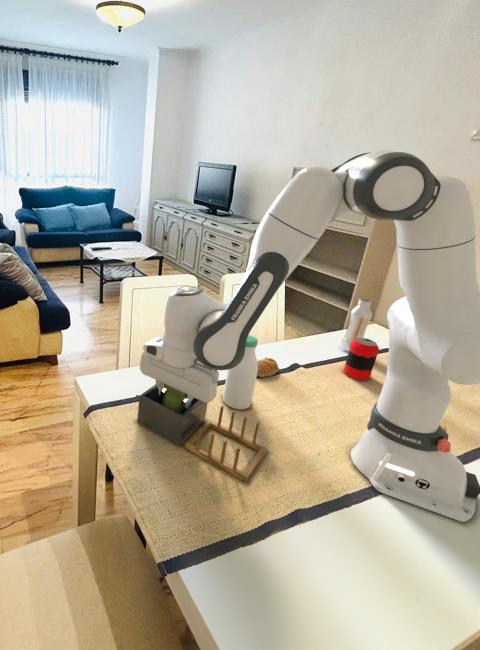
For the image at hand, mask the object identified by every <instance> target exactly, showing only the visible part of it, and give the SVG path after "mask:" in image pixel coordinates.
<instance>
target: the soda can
mask: <svg viewBox="0 0 480 650" xmlns="http://www.w3.org/2000/svg"><path fill="white" fill-rule="evenodd" d="M379 351H380V348H379V345H378V343H377V342H376V341H374V340H372V339H370V338H366V337H364V338H357V339H356V340H354V341H352V343H351V346H350V350H349V351H348V353H347V357H346V360H345V364H344V366H343V369H342V370H343V373H344V374H345V375H346V376H347V377H348V378H351V379H354V380H356V381H368V380H370V379H371V375H372V372H373V369H374V366H375V364H376V361H377V360H376V359H377V357H378V355H379Z"/></svg>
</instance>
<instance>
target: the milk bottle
mask: <svg viewBox="0 0 480 650" xmlns="http://www.w3.org/2000/svg"><path fill="white" fill-rule="evenodd" d="M257 346H258V338H257V337H255V336H253V335H250V334H249V335H248V337H247V341H246V347H245V354H244V357H243V359H242V361H241V362H240V363H239V364H238V365H237V366H236V367H234V368H232V369H228V370H226V376H225V383H224V388H223V393H222V400H223V403H224V404H225V405H226V406H228V407H230V408H233V409H235V410H236V409H237V410H246V409H248V408H249V407H250V406H251V405H252V401H253V397H254V391H255V387H256V382H257V377H258V376H257V371H258V363H257V362H258V359H257V356H256V355H257V354H256V349H257Z"/></svg>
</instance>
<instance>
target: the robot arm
mask: <svg viewBox="0 0 480 650" xmlns="http://www.w3.org/2000/svg"><path fill="white" fill-rule="evenodd" d="M348 212H353V213H356V214H358V215H361V216H366V217H369V218H370V219H374V220H381V221H392V222H393V223H394V226H395V229H396V231H395V232H396V233H395V234H396V235H395V236H396V239H395V240H396V254H397V269H398V283H399V286H400V288H401V291H403V293H404V296H403V297H400V298H398V299H397V300H395V301H394V302H393V303H392V304H391V305H390V307H389V309H388V310H387V313H386V323H387V326H388V336H389V339H388V355H387V368H386V374H385V378H384V382H383V385H382V388H381V391H380V393H379V397H378V400H377V401H376V402H375V403H374V404H373V406H372V407H371V409H370V412H369V416H368V419H367V422H366V423H367V424H366V428H365V431H364V432H363V434H362V436H361V438H360V439H359V440H358V442H357V443H356V444H355V445H354V446H353V447H352V449H351V451H350V458H351V461H352V463H353V465H354V466H355V467H356V469H358V470H359V472H361V474H363V476H365V477H366V478H367V479H368V480H369V482H370V483H371V485H372V486H373V488H374V489H375V490H376V491H378V492H379V493H381V494H383V495H386V496H389V497H392V498H395V499H398V500H399V501H403V502H405V503H409V504H411V505H414V506H417V507H418V508H422V509H425V510H428V511H431V512H433V513H436V514H438V515H441V516H444V517H447V518H449V519H452V520H456V521H458V522H461V523H465V522H468V521H470V520H471V519H472V518H473V516H474V514H475V511H476V500H477V498H478V497H479V496H480V483H479V480H478V477H477V475H476V474H475V473H471V472H468V471H466V468H465V466H464V464H463V462H462V461H461V460H460V459H459V458H458V457H457V456H456V454H454V453H453V452H452V451H451V449H452V448H451V446H452V444H451V442H450V441H449V433H448V432H447V427H446V425H444V426H441V423H442V421H443V419H444V416H445V413H446V412H447V409H448V407H449V405H450V402H451V401H452V391H451V387H450V383H449V381H450V382H452V383H455V384H457V385H462V386H475V385H476V386H477V385H480V288H479V282H478V277H477V257H476V255H477V253H476V252H477V251H476V222H475V214H474V208H473V202H472V198H471V195H470V192H469V187H468V186H467V185H466V183H465V182H464V181H463V180H461V179H459V178H455V177H451V176H446V175H445V176H444V175H442V176H441V175H440V176H435V175H434V174H433V172H432V171H431V170H430V168H429V167H428V165H427V164H426V162H424V161H423V160H422V159H420V158H419V157H418V156H416V155H414V154H411V153H408V152H405V151H404V152H403V151H394V150H377V151H372V152H365V153H360V154H357V155H354V156H352V157H351V158H349V159H348V160H346V161H344V162H343V163H341V164H339V165H338V166H336V167H334V168H333V169H331V170H330V169H328V168H325V167H321V166H320V167H319V166H308V167H304V168H303V169H301V170H299V171H298V172H297V173H296V174H295V175H294V176H293V177H292V178H291V180H290V181H288V182H287V184H286V185H285V187H283V188H282V189H281V191H280V192H279V194H278V195H277V196H276V198H275V199H274V201H273V202H272V203H271V204H270V206H269V208H267V211H266V213H265V214H264V216H263V217H262V219H261V220H260V223H259V225H258V227H257V228H256V231H255V233H254V236H253V238H252V241H251V244H250V248H249V254H248V255H249V256H248V260H247V265H246V269H245V272H244V274H243V278H242V280H241V281H240V282H241V283H240V284H239V285H238V287H237V289H236V290H235V291H234V293H233V295H232V296H231V298H230V300H229V301H228V302H227V303H223V302H221V301H219V300H217V299H215V298H214V297H212V296H211V295H209V294H208V293H207V292H206V291H205V290H204V288H201V287H198V286H193V285H192V286H191V285H186V286H181V287H177V288H176V289H174V290H173V291H171V293H170V294H169V296H168V298H167V301H166V306H165V311H164V319H163V325H164V333H163V335H162V336H156V337H154V338H152V339H150V340H148V341H147V342H145V343H143V347H142V348H143V352H142V353H141V355H140V360H139V361H140V362H139V370H140V372H141V374H142V375H144V376H145V377H149V378H151V379H153V380H155V384H156V385H157V387H158V390H159V395H160V396H162V397H164V395H165V393H166V391H167V389H166V388H165V387H164V384H166V385H169V386H170V387H172V388H174V389H177V390H179V391H181V392H183V393H185V394H187V398H189V399H187V398H186V399H185V400H183V401H182V404H183V405H182V407H184V408H186V409H188V408H189V407H190V406H191V401H192V400H193V399H194V398H196V399H198V400H200V401H203V402H205V403H207V404H208V403H210V402H212V401H213V400H214V399H215V398H216V397H217V392H218V382H219V378H220V377H219V376H220V373H219V371H228V369H232V368H234V367H236V366H237V365H238V364H239V363H240V362H241V361H242V359H243V357H244V354H245V347H246V341H247V337H248V335H250V333H251V331H252V329H253V328H254V327H255V325H256V323H257V322H258V320H259V319H260V317H261V316H262V314H263V313H264V312H265V309H266V308H267V307H268V305H269V304H270V302H271V301H272V299H273V297H274V296H275V294H276V293H277V292H278V290H279V289H280V288H281V286H282V285H283V284H284V283H285V281H286V280H287V279H288V278H289V276H290V275H291V274H292V273H293V272H294V270H295V269H296V268H297V267H298V266H299V265H300V264H301V263H302V261H303V260H304V259H306V257H307V255H308V254H309V253H310V252H311V250H312V249H313V248H314V247H315V245H316V244H317V243H318V241H319V240H320V239H321V237H322V236H323V235H324V233H325V232H326V229H327V228H328V227H329V225H330V224H331V223H333V221H334V220H336V219H337V218H338V217H339V216H341V215H343V214H345V213H348Z"/></svg>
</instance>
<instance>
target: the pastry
mask: <svg viewBox="0 0 480 650" xmlns="http://www.w3.org/2000/svg"><path fill="white" fill-rule="evenodd" d="M257 363H258V371H257V377H260V378H266V377H267V378H268V377H271V376H273V375H276V374H277V373H278V372H279V371H280V368H279V364H278V362H277V361H276V360H275V359H274V358H271V357H270V358H269V357H265V358H262V359H259V360H257Z"/></svg>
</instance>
